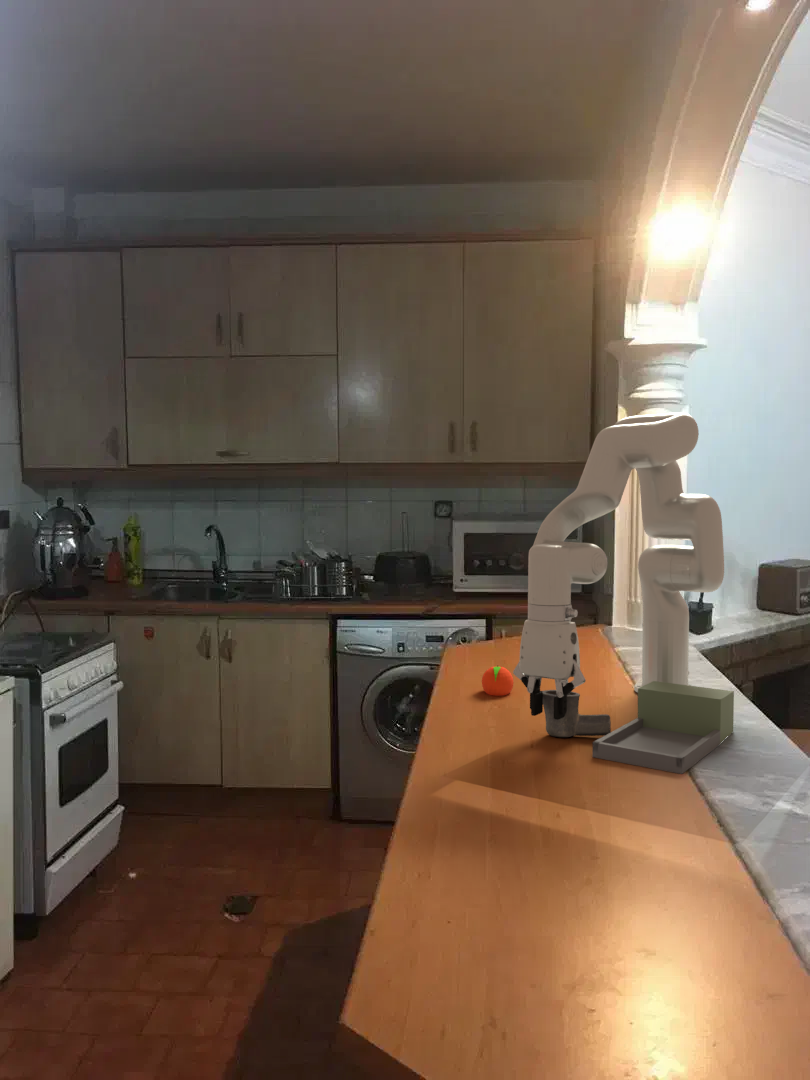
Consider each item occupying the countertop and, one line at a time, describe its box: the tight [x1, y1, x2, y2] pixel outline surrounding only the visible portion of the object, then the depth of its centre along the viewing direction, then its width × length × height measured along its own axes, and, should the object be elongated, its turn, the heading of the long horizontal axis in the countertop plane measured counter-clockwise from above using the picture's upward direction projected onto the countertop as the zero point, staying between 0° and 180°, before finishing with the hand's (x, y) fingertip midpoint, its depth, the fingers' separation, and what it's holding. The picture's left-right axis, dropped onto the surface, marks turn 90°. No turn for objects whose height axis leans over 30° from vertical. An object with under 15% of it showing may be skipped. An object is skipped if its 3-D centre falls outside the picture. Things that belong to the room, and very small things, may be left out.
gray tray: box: [591, 681, 735, 775], centre depth 148 cm, size 28×15×8 cm, turn 143°
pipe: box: [541, 689, 612, 738], centre depth 154 cm, size 6×13×8 cm, turn 78°
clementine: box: [481, 665, 515, 697], centre depth 184 cm, size 8×7×7 cm
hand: (548, 715), depth 152 cm, fingers closed on pipe, 3 cm apart
